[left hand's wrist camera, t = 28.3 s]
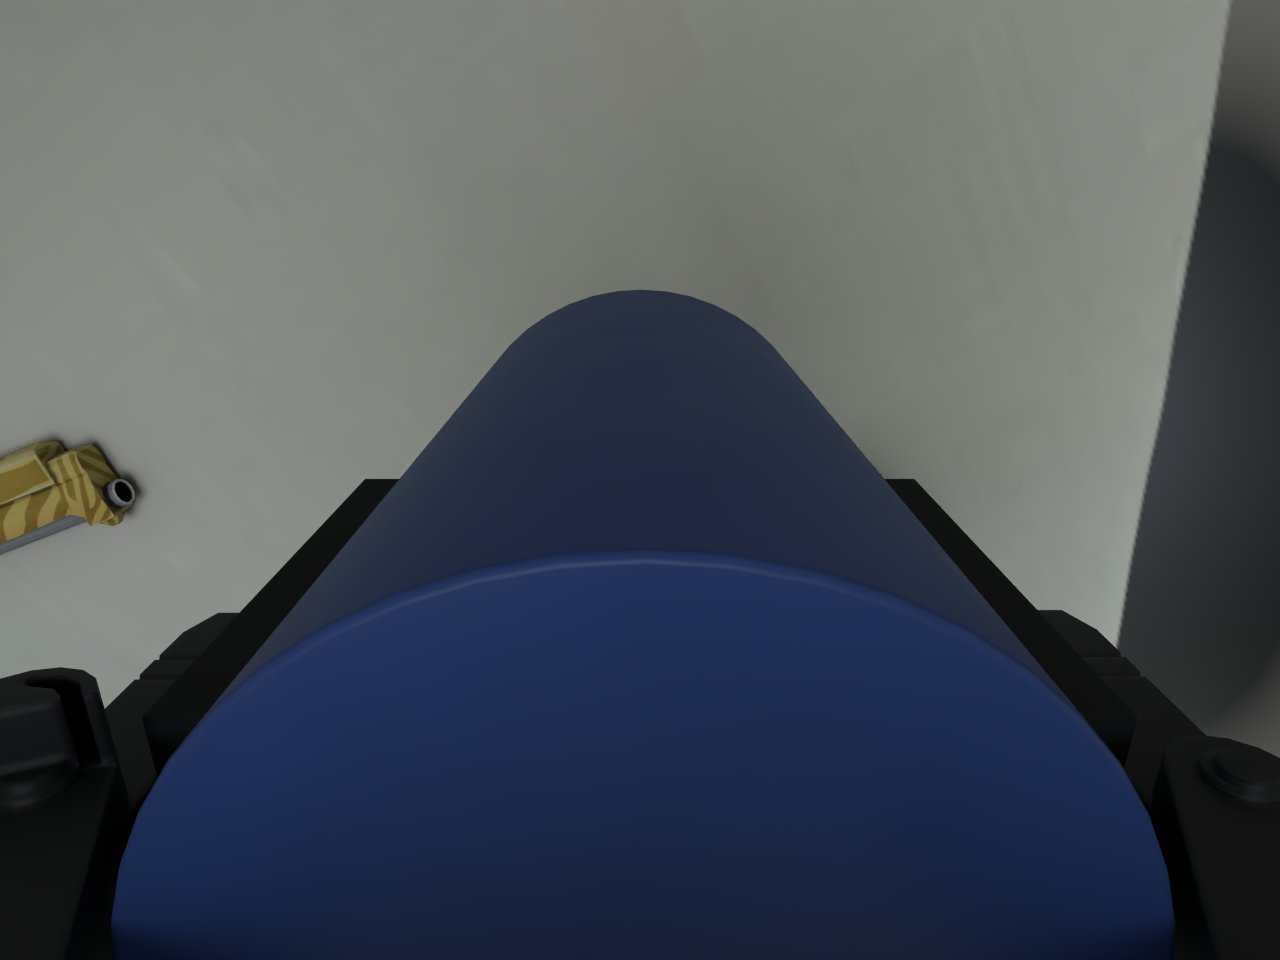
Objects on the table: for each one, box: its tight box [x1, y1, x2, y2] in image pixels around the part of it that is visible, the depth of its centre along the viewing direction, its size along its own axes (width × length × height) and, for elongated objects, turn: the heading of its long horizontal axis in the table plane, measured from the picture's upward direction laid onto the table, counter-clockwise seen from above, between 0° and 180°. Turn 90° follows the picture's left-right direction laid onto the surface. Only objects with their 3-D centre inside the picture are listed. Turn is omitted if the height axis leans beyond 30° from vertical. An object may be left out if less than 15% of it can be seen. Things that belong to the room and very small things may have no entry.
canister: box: [111, 290, 1175, 960], centre depth 12 cm, size 8×8×13 cm
